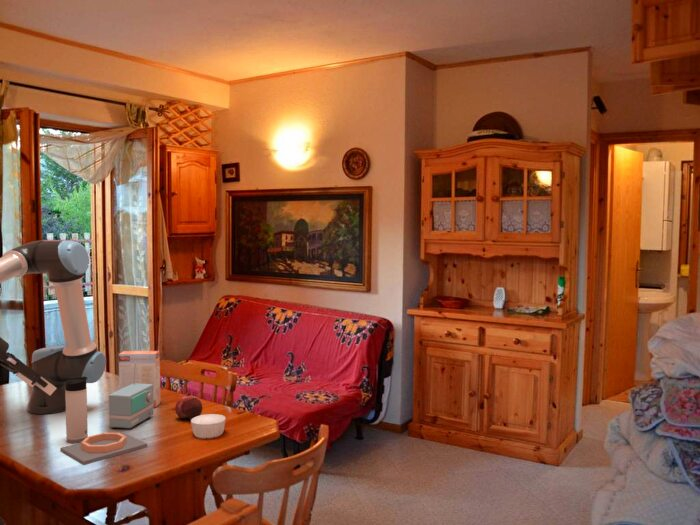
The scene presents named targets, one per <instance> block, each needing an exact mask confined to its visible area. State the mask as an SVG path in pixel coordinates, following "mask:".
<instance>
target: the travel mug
mask: <svg viewBox="0 0 700 525" xmlns="http://www.w3.org/2000/svg"><path fill="white" fill-rule="evenodd" d="M86 379H87V377H85V376H84V377H79V378H73V379H70V380H68V381H66V385H65V387H66V388H65V391H66V392H65V397H66V410H65V426H66V427H65V431H66V432H65V434H66V437H65V438H66V442H67V443H70V444H77V443H81V442H82V441H83V440H84V439H85V438H87V437H89V436H88V433H89V432H88V431H89V430H88V429H89V428H88V389H87V383H86Z"/></svg>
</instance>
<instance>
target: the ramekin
mask: <svg viewBox="0 0 700 525" xmlns="http://www.w3.org/2000/svg"><path fill="white" fill-rule="evenodd" d="M226 419H227V418H226V416H225V415H223V414H219V413H218V414H217V413H209V414H208V413H207V414H200V415H199V416H197V417H194V418H193V419H190V424H191V427H192V432H193V435H194V436H195V437H196V438H198V439H206V438H207V439H215V438H218V437H220V436H221V435H222V434H223V433H224V430H225V426H226ZM214 437H215V438H214Z"/></svg>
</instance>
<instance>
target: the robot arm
mask: <svg viewBox="0 0 700 525" xmlns="http://www.w3.org/2000/svg"><path fill="white" fill-rule="evenodd" d="M89 264H90V257H89V253H88V251H87V249H86V247H85V246H84V245H83V244H82V243H80V242H78V241H75V240H72V241H71V240H66V239H65V240H35V241H29V242H27V243H24V244H21V245H19V246H17V247H14V248H12V249H10V250H7V251H5V252H4V253H3V255H2V256H1V257H0V284H2V283H5V282H7V281H9V280H11V279H13V278H21V277H23V276H26V275H30V274H31V275H32V274H45V275H47V278H48V282H49V283H51V284H52V285H53V286H54V290H55V295H56V299H57V300H56V301H57V306H58V311H59V315H60V321H61V326H62V332H63V337H64V342H65V345H63V344H62V345H51V346H47V347H42V348H39V349H36V350H34V351H33V352H32V354H31V367H29V366H28V365H27V364H26V363H24V362H22V360H20V359H19V358H18V357H16V356H15V354H14V353H10V352H8V350H9V348H10V344H9V343H8V342H7V341H6V340H4V338H2V337H1V336H0V366H2V367H3V368H5V369H6V370H7V371H8V372H10V373H12V374H13V375H15V376H16V377H17V378H19V379H20V380H22V382H24V383H26V384H27V385H28V386H30V387H31V388H32V390H31V394H30V397H29V400H28V402H27V403H28V404H27V412H28V413H30V414H35V415H49V414H56V413H61V412H66V397H65V392H66V391H65V388H66V387H65V385H66V381H68V380H70V379H73V378H79V377H84V376H85V377H87V379H86V384H94V383H97V382H98V381H100V379H101V378H102V377H103V374H104V372H105V370H106V367H107V366H106V365H107V357H106V354H105V353H104V352H102V351H98V347H97V344H96V342H94V341H92V337H91V333H90V326H89V322H88V321H89V320H88V315H87V310H86V304H85V298H84V293H83V287H82V280H83V278H85V273H86V272H87V270H88V268H89V267H90V266H89ZM2 293H3V292H2V288H1V287H0V296H1V295H2Z"/></svg>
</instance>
